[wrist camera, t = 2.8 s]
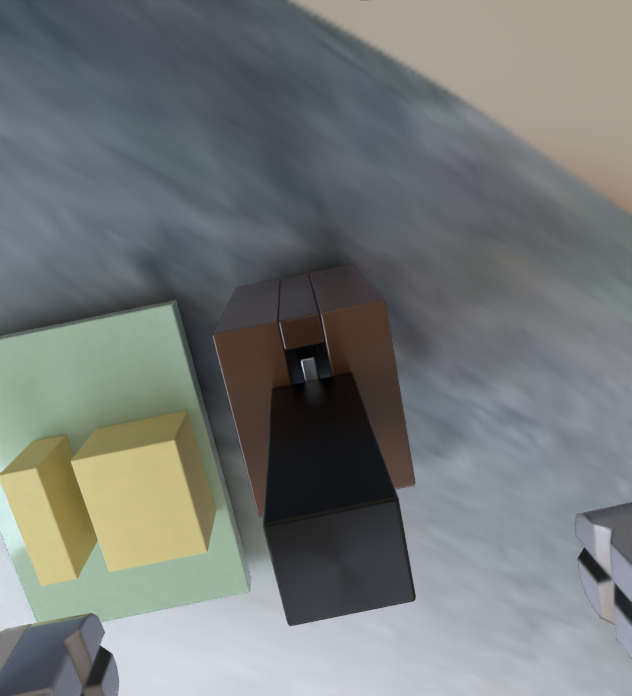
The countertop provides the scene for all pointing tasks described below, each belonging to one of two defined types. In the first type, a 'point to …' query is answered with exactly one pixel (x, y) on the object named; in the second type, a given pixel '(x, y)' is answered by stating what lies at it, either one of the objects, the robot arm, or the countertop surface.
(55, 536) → the butter slice
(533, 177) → the countertop surface
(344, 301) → the knife block
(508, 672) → the countertop surface
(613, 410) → the countertop surface
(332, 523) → the knife
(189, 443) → the butter block
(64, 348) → the butter dish
